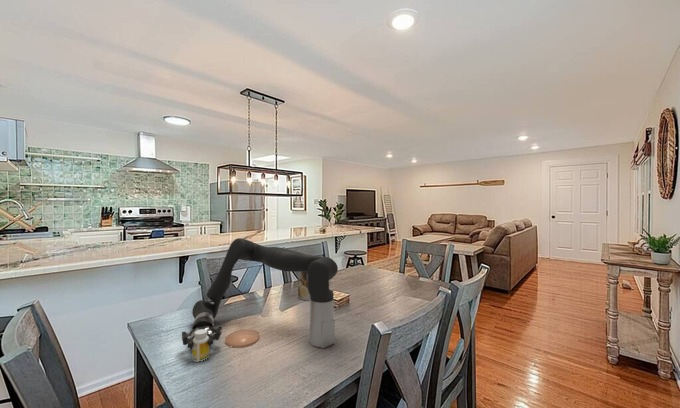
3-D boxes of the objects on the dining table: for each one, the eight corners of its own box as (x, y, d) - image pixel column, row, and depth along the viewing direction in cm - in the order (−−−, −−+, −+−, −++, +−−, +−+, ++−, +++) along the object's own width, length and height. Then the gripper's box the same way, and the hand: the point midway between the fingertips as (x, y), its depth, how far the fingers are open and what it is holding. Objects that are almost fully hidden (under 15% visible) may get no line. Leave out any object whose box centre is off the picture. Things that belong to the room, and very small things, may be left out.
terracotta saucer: (265, 340, 120) (265, 337, 120) (232, 351, 111) (232, 348, 111) (250, 329, 130) (250, 326, 130) (220, 338, 121) (220, 335, 121)
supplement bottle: (189, 362, 103) (189, 335, 103) (195, 354, 109) (195, 328, 108) (206, 362, 104) (206, 334, 103) (211, 353, 109) (211, 327, 109)
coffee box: (317, 298, 170) (317, 270, 170) (311, 301, 164) (311, 272, 164) (303, 295, 174) (304, 268, 174) (297, 298, 169) (297, 270, 168)
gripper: (183, 318, 117) (176, 337, 101) (222, 313, 122) (222, 331, 106) (183, 337, 117) (176, 359, 101) (222, 331, 122) (222, 351, 106)
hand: (200, 344), depth 104 cm, fingers closed on supplement bottle, 5 cm apart
